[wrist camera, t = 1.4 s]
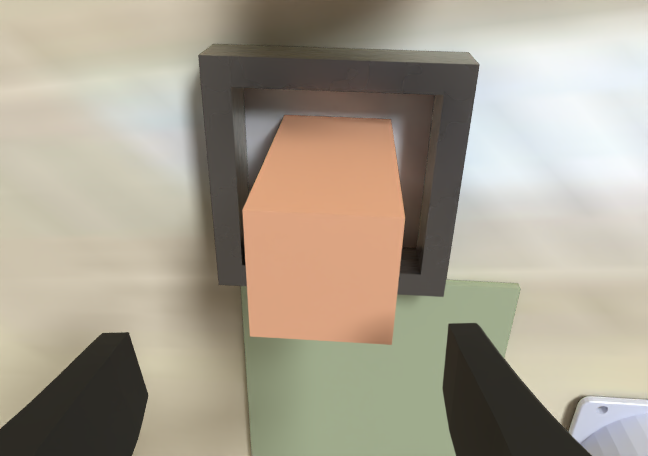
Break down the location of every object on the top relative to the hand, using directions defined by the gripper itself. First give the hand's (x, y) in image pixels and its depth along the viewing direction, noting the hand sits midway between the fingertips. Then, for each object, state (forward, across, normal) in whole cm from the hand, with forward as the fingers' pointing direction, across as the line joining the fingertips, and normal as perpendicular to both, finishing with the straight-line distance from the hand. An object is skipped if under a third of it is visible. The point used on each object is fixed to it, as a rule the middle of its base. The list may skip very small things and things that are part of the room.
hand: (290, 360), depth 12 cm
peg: (+10, -1, 0) cm, 10 cm away
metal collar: (+10, -1, 0) cm, 10 cm away
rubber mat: (+10, -2, +11) cm, 15 cm away
